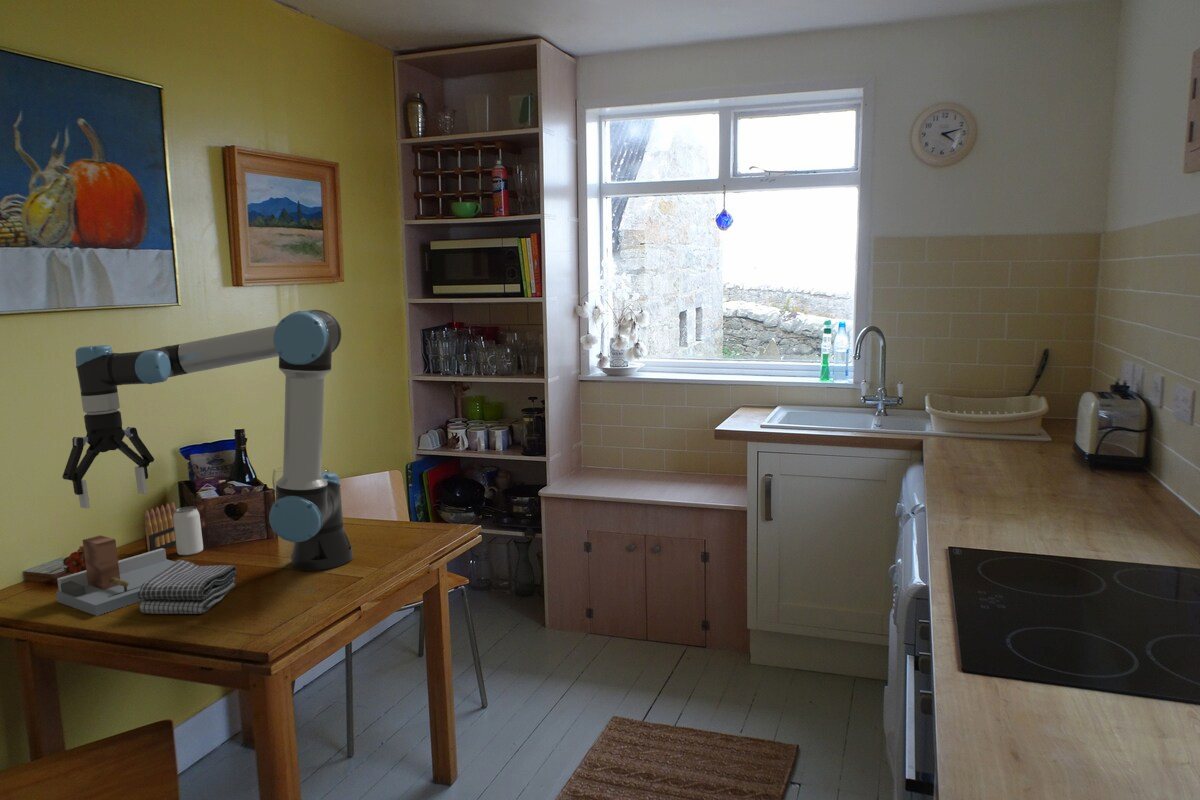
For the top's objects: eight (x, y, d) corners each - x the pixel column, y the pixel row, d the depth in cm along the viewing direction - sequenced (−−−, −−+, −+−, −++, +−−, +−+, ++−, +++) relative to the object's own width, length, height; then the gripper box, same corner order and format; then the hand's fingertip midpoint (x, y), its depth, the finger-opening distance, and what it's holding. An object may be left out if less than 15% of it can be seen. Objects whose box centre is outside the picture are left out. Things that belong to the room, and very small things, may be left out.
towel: (137, 618, 190) (133, 584, 188) (180, 588, 208) (176, 557, 207) (205, 617, 189) (201, 582, 188) (242, 587, 207) (239, 555, 206)
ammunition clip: (151, 553, 235) (146, 511, 234) (146, 553, 236) (141, 510, 234) (182, 542, 245) (177, 500, 244) (177, 541, 246) (172, 500, 244)
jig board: (206, 579, 213) (203, 557, 212) (97, 616, 191) (93, 592, 191) (165, 568, 223) (163, 547, 222) (57, 601, 201) (54, 579, 200)
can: (207, 551, 236) (202, 508, 234) (183, 557, 231) (178, 513, 229) (197, 546, 240) (192, 504, 238) (173, 552, 235) (168, 510, 234)
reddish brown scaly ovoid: (111, 582, 218) (69, 589, 220) (124, 555, 224) (83, 561, 226) (89, 563, 212) (47, 570, 214) (104, 535, 218) (62, 542, 220)
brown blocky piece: (135, 589, 200) (130, 543, 199) (118, 594, 197) (112, 548, 196) (105, 579, 208) (100, 535, 206) (88, 584, 205) (82, 539, 203)
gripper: (144, 403, 215) (156, 486, 218) (36, 420, 194) (50, 512, 197) (162, 403, 211) (173, 488, 214) (53, 421, 190) (67, 515, 193)
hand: (114, 500), depth 205 cm, fingers open, 13 cm apart
